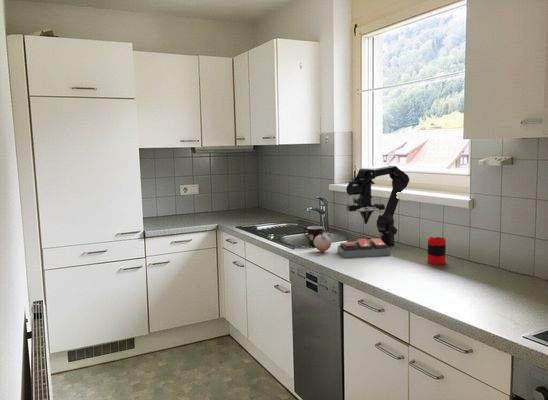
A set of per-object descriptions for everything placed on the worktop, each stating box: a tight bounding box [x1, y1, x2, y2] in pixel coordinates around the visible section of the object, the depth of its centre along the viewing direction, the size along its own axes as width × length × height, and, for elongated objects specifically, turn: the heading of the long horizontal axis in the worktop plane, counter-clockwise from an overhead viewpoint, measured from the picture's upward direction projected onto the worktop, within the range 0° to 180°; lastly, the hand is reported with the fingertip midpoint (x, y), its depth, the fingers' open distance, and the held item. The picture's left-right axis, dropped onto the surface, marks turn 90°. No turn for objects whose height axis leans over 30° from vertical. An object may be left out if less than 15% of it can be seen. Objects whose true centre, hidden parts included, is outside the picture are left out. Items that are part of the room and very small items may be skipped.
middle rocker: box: [356, 238, 370, 246], centre depth 230 cm, size 4×8×1 cm, turn 8°
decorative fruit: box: [314, 232, 332, 253], centre depth 236 cm, size 9×8×10 cm
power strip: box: [337, 240, 391, 259], centre depth 230 cm, size 23×12×5 cm, turn 98°
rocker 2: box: [370, 237, 385, 246], centre depth 231 cm, size 4×8×1 cm, turn 8°
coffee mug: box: [303, 225, 324, 248], centre depth 251 cm, size 12×9×10 cm
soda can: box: [427, 234, 447, 266], centre depth 211 cm, size 8×8×12 cm
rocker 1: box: [341, 242, 355, 246], centre depth 229 cm, size 4×8×1 cm, turn 7°
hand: (365, 223), depth 239 cm, fingers closed
